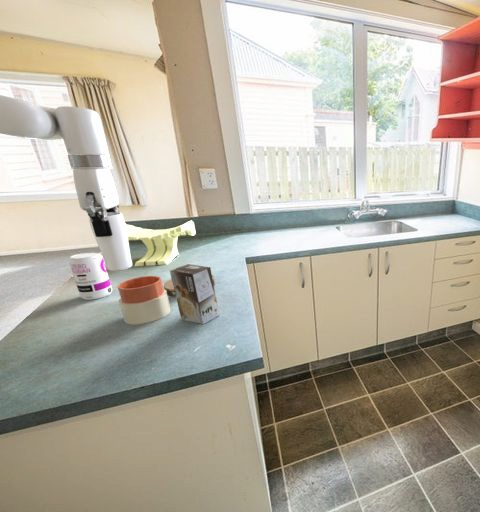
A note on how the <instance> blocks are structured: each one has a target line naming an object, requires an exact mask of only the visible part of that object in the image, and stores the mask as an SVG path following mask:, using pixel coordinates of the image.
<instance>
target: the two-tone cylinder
mask: <svg viewBox="0 0 480 512" xmlns="http://www.w3.org/2000/svg"><path fill="white" fill-rule="evenodd" d="M163 289H164V288H163ZM118 305H119V309H120V312H121V315H122V318H123V321H124V323H125V324H128V325H143V324H148V323H151V322H155V321H158V320H161V319H162V318H164V317H166V316H168V315H169V314H170V313H171V311H172V309H171V303H170V300H169V296H168V295H167V291H166V290H165V289H164V293H163V295H161V296H159V297H158V298H155V299H153V300H149V301H146V302H141V303H134V304H127V303H123V302H122V301H121V298H120V297H119V299H118Z"/></svg>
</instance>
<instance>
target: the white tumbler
mask: <svg viewBox="0 0 480 512" xmlns="http://www.w3.org/2000/svg"><path fill="white" fill-rule="evenodd" d="M99 213H100V214H101V212H99ZM87 217H88V222H89V225H90V229H91V231H92V234H93V236H94V239H95V242H96V243H97V246H98V248H99V251H100V253H101V256H102V257H103V260H104V263H105V267H106V270H107V271H110V272H118V271H125V270H127V269H130V268H131V267H133V260H132V256H131V249H130V242H129V240H128V235H127V229H126V224H127V223H126V221H125V218H124V214H123V213H122V212H120V213H119V212H109V213H106V220H109V223H110V227H111V231H112V236H106V237H96V235H95V232H94V229H93V225H92V222H91V221H90V217H89V215H87ZM125 223H126V224H125Z"/></svg>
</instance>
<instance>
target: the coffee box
mask: <svg viewBox="0 0 480 512" xmlns="http://www.w3.org/2000/svg"><path fill="white" fill-rule="evenodd" d="M169 273H170V279H172V282H173V287H174V291H175V295H176V297H175V299H176V303H177V307H178V311H179V315H180V320H182V321H186V322H191V323H196V324H201V325H204V324H205V325H206V324H207V323H209V322H210V321H211V320H213V319H215V318H217V317H219V316H220V312H219V305H218V301H217V295H216V290H215V286H214V284H213V279H212V275H213V274H212V267H211V266H203V265H199V264H190V263H187V264H184V265H181V266H179V267H176V268H174V269H171V270H169Z"/></svg>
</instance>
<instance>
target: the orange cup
mask: <svg viewBox="0 0 480 512" xmlns="http://www.w3.org/2000/svg"><path fill="white" fill-rule="evenodd" d="M117 290H118V294H119V299H120V298H121V301H122V302H123V303H127V304H134V303H141V302H146V301H149V300H153V299H155V298H158V297H159V296H161V295H163V293H164V283H163V280H162V278H161V277H160V276H158V275H144V276H139V277H134V278H130V279H127V280H124V281H122V282H120V283H119V284H118V285H117Z"/></svg>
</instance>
